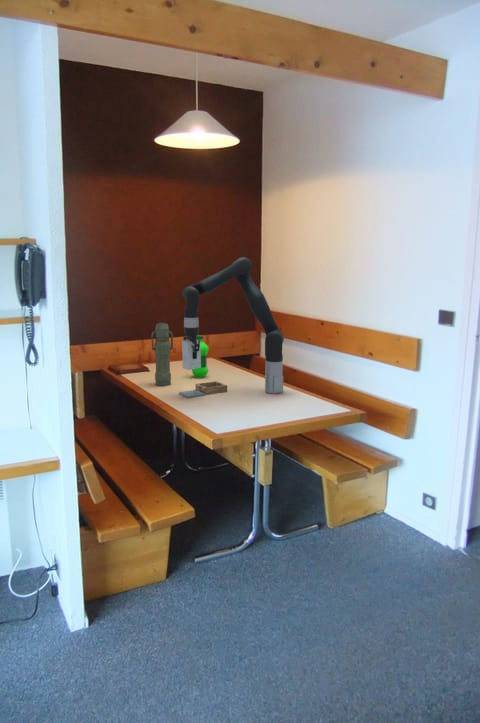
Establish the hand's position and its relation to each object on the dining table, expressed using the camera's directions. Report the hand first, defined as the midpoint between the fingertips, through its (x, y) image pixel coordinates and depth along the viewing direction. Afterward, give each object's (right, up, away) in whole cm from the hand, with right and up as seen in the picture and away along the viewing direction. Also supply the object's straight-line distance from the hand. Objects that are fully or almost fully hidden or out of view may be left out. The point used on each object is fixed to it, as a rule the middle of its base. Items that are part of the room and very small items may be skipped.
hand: (191, 357), depth 300 cm
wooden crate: (+10, -18, +12) cm, 24 cm away
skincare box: (0, -6, +1) cm, 6 cm away
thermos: (-18, -15, +26) cm, 35 cm away
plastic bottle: (+1, -11, +46) cm, 47 cm away
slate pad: (0, -20, +4) cm, 20 cm away
